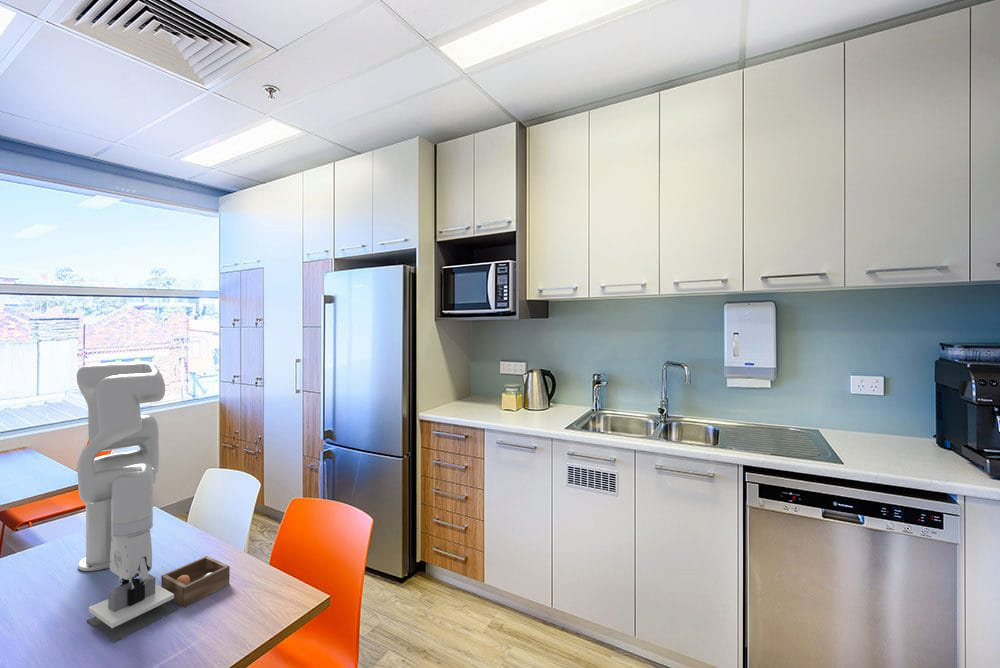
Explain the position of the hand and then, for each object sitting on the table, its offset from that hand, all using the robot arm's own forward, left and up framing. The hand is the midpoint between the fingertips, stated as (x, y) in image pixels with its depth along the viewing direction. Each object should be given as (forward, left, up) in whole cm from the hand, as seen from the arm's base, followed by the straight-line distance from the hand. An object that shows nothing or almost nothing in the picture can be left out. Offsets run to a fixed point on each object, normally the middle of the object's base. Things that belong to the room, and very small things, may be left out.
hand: (132, 599), depth 102 cm
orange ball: (-1, +11, -2) cm, 11 cm away
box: (+2, +13, -4) cm, 14 cm away
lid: (0, 0, -1) cm, 1 cm away
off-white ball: (+4, +15, -2) cm, 16 cm away
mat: (0, 0, -4) cm, 4 cm away
